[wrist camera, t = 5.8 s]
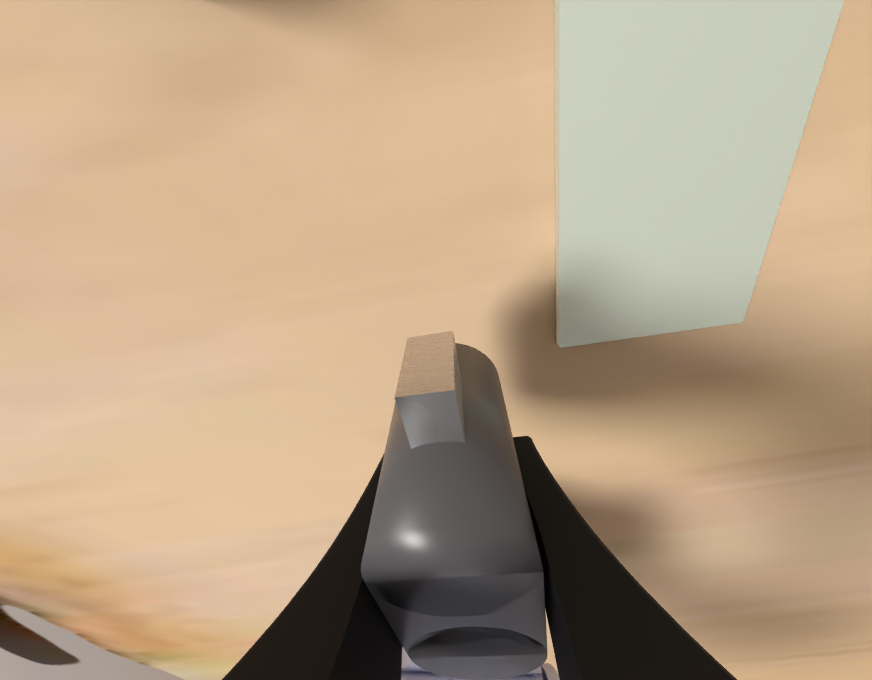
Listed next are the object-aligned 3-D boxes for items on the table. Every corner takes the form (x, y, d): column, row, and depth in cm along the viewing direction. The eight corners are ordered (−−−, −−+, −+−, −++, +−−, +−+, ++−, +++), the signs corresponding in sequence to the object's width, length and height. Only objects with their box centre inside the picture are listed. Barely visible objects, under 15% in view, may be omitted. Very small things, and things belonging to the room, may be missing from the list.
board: (734, 317, 17) (743, 322, 16) (556, 342, 18) (559, 348, 17) (852, -85, 10) (875, -98, 9) (554, -6, 11) (559, -14, 11)
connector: (511, 484, 14) (548, 678, 9) (432, 491, 14) (423, 681, 9) (489, 296, 10) (538, 460, 5) (378, 315, 10) (305, 483, 5)
